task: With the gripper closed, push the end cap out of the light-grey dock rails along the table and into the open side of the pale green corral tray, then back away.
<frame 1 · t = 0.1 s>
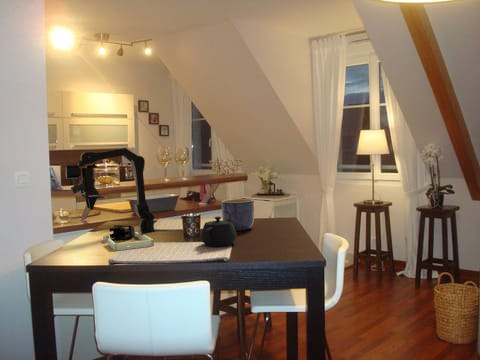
hand: (90, 209, 237), 14 cm above the table, fingers open, 9 cm apart
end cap: (122, 239, 230), on the table
dock: (122, 239, 230), on the table
planter: (238, 229, 245), on the table
teapot: (219, 244, 209), on the table
tray: (130, 245, 215), on the table
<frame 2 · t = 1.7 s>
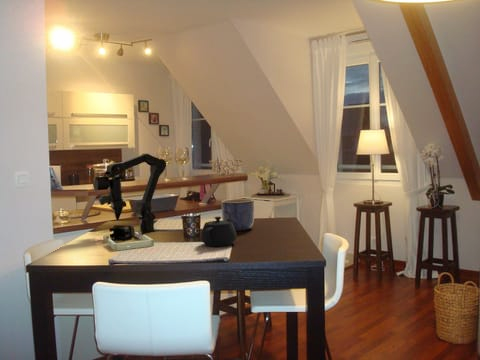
hand: (117, 219, 239), 8 cm above the table, fingers closed
nothing on the table moved.
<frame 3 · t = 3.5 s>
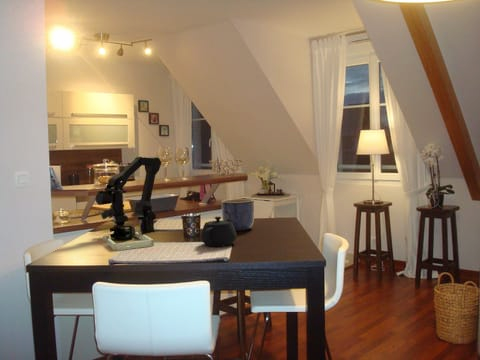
hand: (119, 233, 237), 2 cm above the table, fingers closed
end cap: (122, 240, 230), on the table, touching gripper
everything else where it was.
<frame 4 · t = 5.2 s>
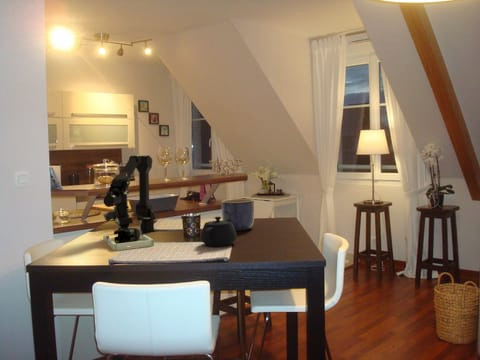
hand: (123, 236, 228), 2 cm above the table, fingers closed
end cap: (127, 243, 221), on the table, touching gripper
everything else where it was.
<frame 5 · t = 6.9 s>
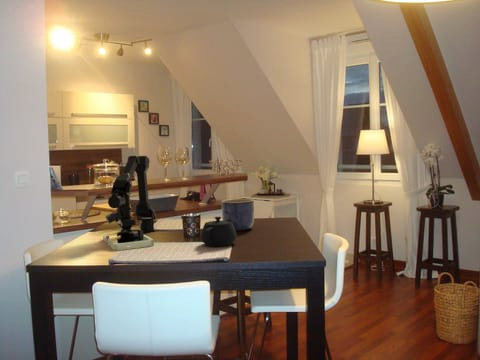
hand: (125, 238, 223), 1 cm above the table, fingers closed
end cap: (130, 245, 216), on the table, touching gripper
everything else where it was.
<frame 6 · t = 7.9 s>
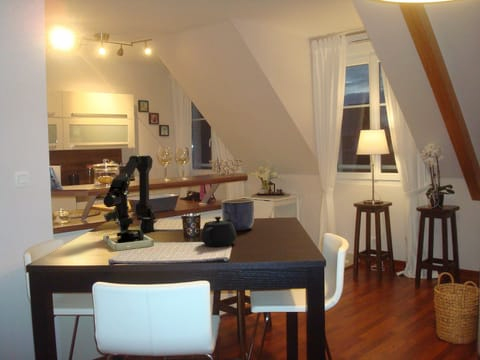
hand: (123, 237, 228), 1 cm above the table, fingers closed
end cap: (130, 245, 216), on the table
everything else where it was.
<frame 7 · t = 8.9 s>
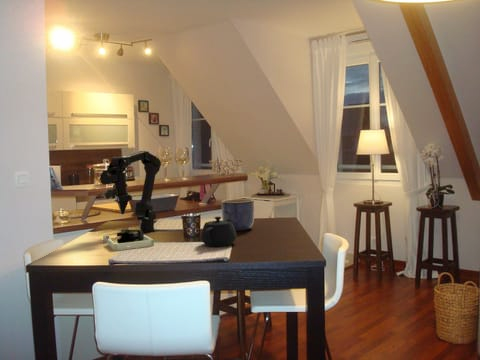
hand: (122, 214, 234), 12 cm above the table, fingers closed
nothing on the table moved.
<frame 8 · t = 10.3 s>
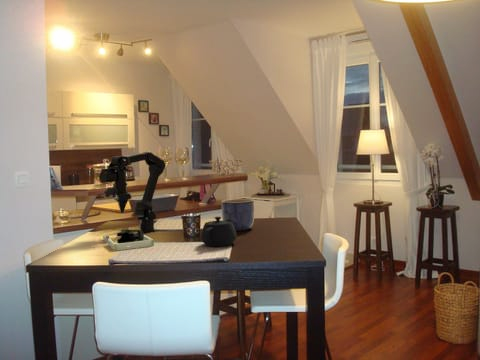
hand: (122, 212, 237), 12 cm above the table, fingers closed
nothing on the table moved.
at the end: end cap inside the target area on the tray (0.9 cm from its centre), point 0.0 cm above the tray's base; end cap moved 15.9 cm from its start; the gripper is holding nothing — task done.
